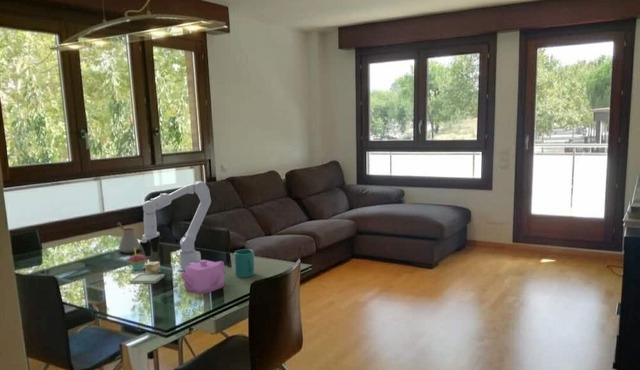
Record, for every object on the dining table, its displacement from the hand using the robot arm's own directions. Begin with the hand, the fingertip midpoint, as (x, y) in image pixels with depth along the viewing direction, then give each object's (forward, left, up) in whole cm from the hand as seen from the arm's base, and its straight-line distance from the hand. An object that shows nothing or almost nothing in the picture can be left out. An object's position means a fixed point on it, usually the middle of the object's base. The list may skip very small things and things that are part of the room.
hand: (151, 253), depth 227 cm
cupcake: (+11, -7, -10) cm, 16 cm away
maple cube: (0, 0, -10) cm, 10 cm away
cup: (-47, +3, -10) cm, 48 cm away
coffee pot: (+36, -43, -10) cm, 57 cm away
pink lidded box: (-33, +21, -10) cm, 40 cm away
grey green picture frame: (-2, +10, -10) cm, 14 cm away
